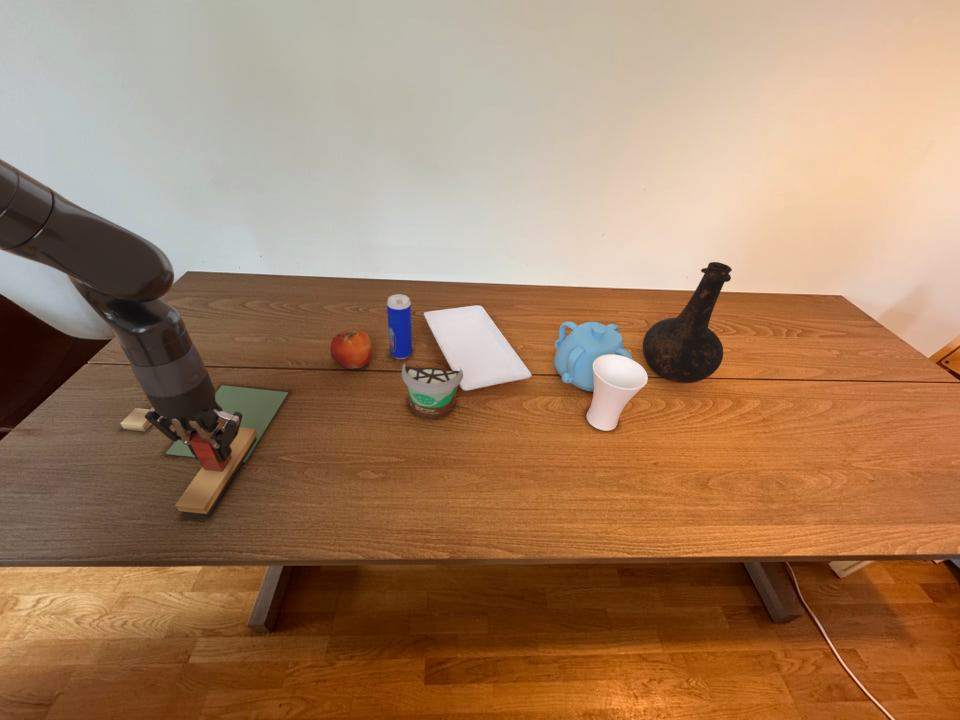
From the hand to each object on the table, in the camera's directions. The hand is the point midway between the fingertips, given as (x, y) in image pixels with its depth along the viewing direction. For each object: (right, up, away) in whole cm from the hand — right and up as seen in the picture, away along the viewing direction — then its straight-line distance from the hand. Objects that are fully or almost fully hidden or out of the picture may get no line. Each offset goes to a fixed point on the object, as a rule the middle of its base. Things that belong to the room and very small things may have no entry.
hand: (214, 455), depth 68 cm
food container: (+33, +5, +19) cm, 38 cm away
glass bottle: (+91, +13, +37) cm, 99 cm away
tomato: (+14, +15, +29) cm, 36 cm away
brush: (0, -4, +3) cm, 5 cm away
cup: (+69, +3, +21) cm, 72 cm away
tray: (+41, +17, +36) cm, 57 cm away
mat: (-4, +4, +13) cm, 14 cm away
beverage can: (+24, +17, +33) cm, 44 cm away
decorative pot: (+68, +12, +32) cm, 76 cm away
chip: (-20, +4, +11) cm, 23 cm away
